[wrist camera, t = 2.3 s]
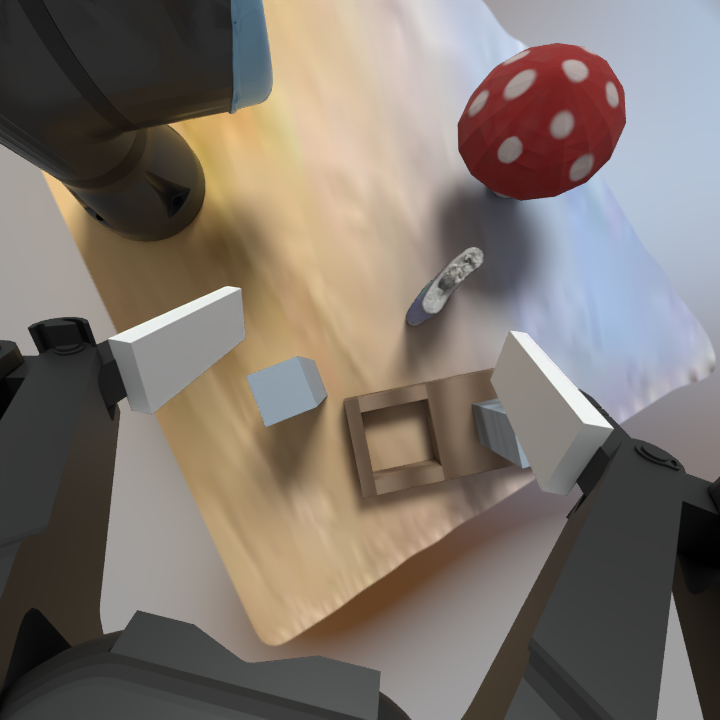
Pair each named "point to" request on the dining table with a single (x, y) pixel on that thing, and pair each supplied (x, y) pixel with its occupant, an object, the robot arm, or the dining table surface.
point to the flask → (444, 286)
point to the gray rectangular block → (287, 389)
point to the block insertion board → (441, 432)
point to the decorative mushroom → (542, 122)
